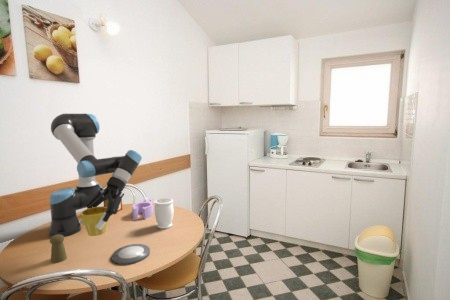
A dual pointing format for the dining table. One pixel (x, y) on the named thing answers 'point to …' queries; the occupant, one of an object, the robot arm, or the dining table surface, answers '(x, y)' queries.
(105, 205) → the baking soda box
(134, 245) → the base
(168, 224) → the jar
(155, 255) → the dining table surface
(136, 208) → the clip
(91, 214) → the plant pot
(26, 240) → the dining table surface
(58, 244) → the cork
